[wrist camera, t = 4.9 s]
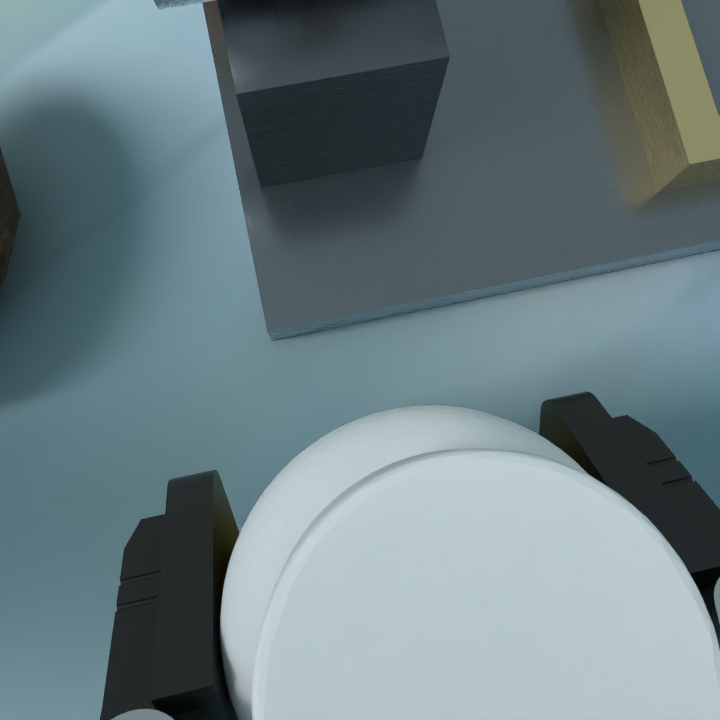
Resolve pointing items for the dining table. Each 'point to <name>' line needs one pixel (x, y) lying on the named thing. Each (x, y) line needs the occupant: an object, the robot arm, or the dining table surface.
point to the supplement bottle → (458, 585)
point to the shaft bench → (463, 145)
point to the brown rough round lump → (6, 218)
